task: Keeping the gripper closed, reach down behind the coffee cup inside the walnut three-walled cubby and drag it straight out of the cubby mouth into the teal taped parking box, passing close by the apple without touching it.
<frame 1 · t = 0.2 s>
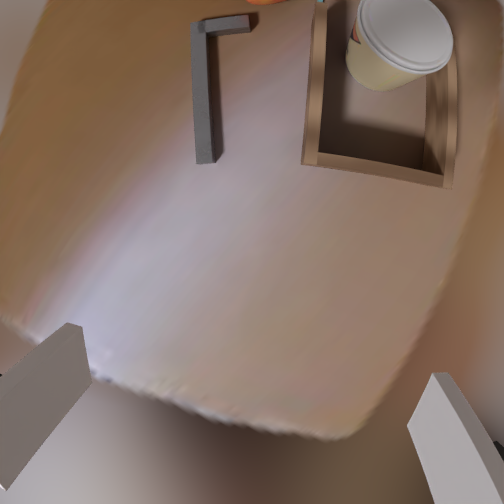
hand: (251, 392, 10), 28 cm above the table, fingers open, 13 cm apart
coffee cup: (375, 63, 31), on the table
cubby: (374, 100, 32), on the table
crook tool: (203, 90, 33), on the table
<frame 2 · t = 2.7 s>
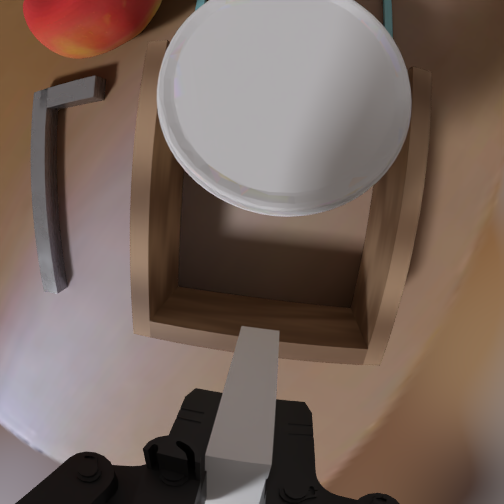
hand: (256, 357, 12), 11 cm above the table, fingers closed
coffee cup: (284, 125, 21), on the table
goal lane: (295, 5, 18), on the table
apple: (127, 21, 19), on the table
cubby: (276, 195, 22), on the table
crook tool: (51, 190, 24), on the table
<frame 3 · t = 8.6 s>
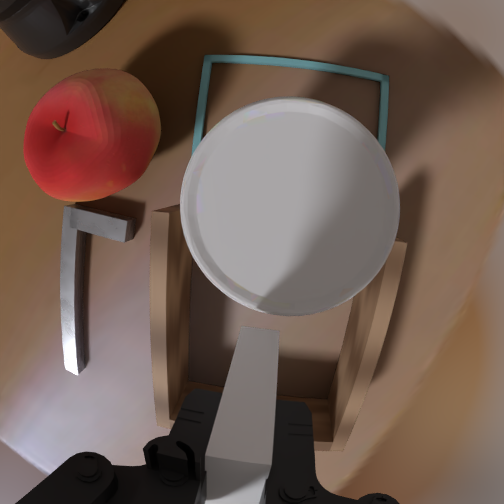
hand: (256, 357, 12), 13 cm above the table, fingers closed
coffee cup: (286, 205, 24), on the table
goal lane: (290, 137, 23), on the table
apple: (128, 141, 24), on the table
cubby: (267, 321, 26), on the table
crook tool: (77, 293, 28), on the table
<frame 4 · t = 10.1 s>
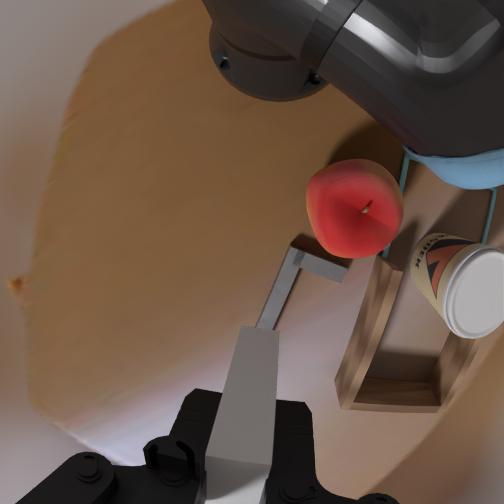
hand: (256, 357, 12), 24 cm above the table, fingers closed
coffee cup: (434, 262, 35), on the table
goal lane: (444, 221, 33), on the table
apple: (342, 202, 34), on the table
cubby: (409, 332, 37), on the table
crook tool: (268, 313, 38), on the table
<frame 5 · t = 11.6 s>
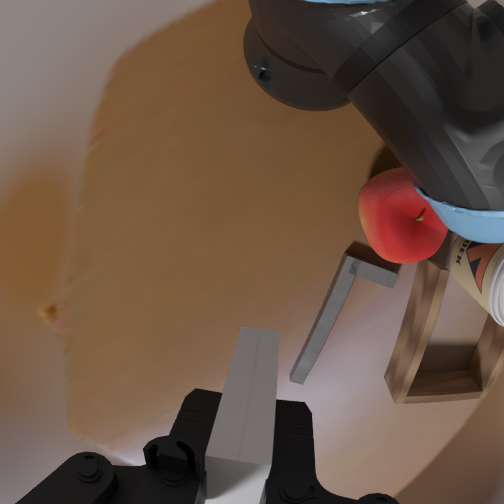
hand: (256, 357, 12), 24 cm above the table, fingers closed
coffee cup: (471, 256, 34), on the table
apple: (386, 206, 34), on the table
cubby: (450, 324, 36), on the table
crook tool: (322, 320, 38), on the table
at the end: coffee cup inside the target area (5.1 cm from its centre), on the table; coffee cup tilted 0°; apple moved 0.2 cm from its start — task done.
